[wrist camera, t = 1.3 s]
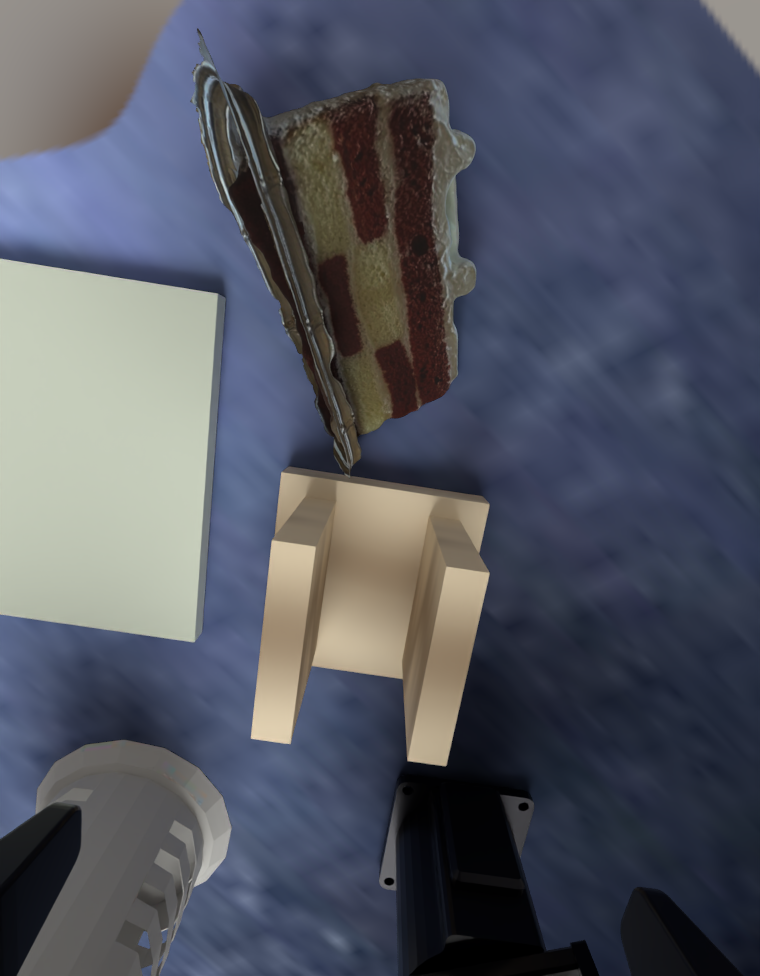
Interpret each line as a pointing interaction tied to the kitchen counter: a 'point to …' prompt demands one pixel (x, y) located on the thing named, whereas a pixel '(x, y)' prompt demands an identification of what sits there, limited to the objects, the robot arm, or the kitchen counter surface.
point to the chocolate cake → (350, 237)
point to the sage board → (106, 449)
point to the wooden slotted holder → (372, 598)
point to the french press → (127, 857)
